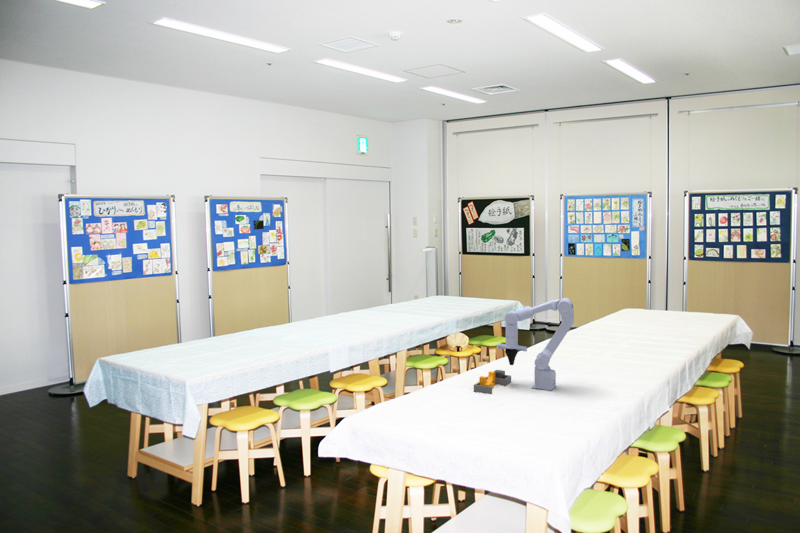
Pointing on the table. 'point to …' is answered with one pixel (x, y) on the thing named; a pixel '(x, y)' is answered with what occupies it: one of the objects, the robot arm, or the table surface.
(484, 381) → the pipe clamp
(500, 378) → the grey piece
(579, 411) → the table surface
